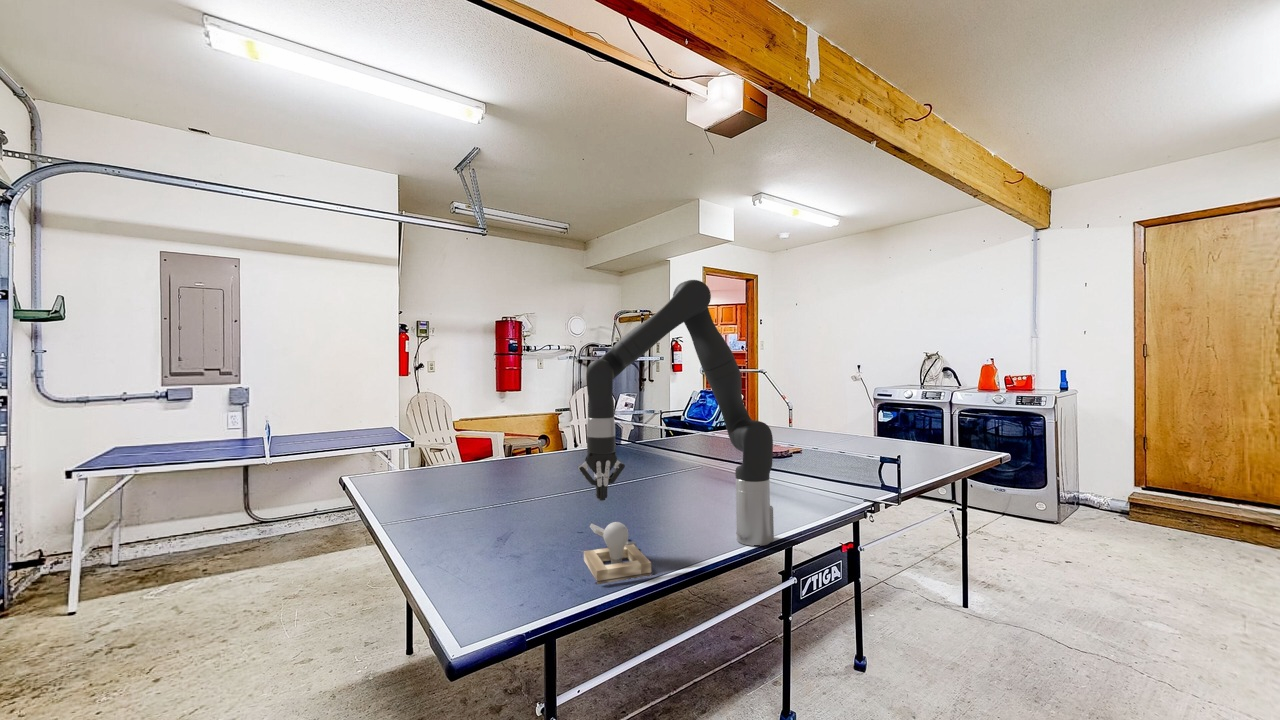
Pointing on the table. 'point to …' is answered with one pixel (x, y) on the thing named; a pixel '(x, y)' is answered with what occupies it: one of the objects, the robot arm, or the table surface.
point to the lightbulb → (616, 540)
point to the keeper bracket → (632, 543)
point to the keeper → (599, 530)
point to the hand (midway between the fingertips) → (601, 499)
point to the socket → (617, 564)
